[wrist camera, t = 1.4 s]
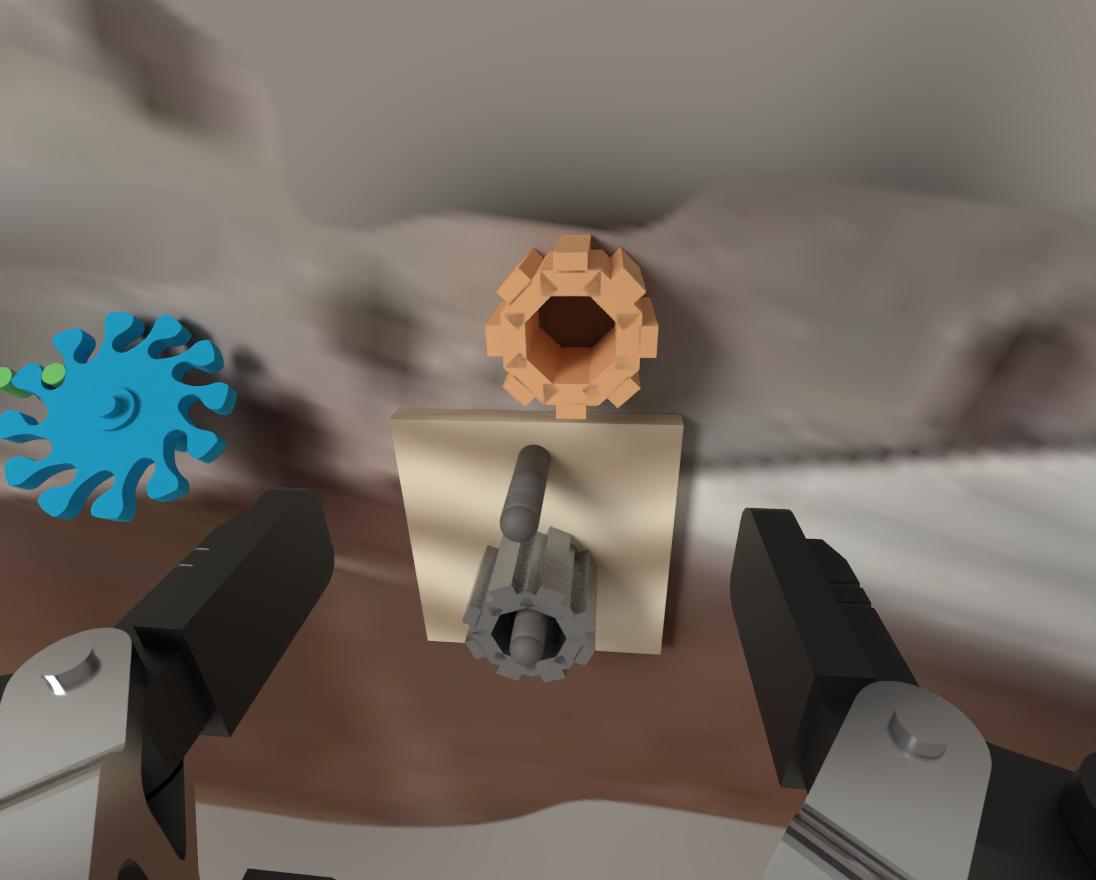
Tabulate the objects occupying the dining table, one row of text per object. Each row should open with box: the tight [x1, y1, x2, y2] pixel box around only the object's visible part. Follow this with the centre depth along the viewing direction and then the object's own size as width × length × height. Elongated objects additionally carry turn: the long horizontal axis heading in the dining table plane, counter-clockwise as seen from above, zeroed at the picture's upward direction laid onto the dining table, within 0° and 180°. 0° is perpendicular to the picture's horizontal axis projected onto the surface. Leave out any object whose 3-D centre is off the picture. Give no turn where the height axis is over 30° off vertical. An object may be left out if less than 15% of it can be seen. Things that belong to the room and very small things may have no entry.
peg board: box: [390, 409, 684, 666], centre depth 27 cm, size 15×14×7 cm
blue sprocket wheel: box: [0, 312, 237, 521], centre depth 27 cm, size 11×6×10 cm
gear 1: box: [485, 234, 658, 419], centre depth 23 cm, size 6×6×4 cm
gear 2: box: [462, 526, 597, 682], centre depth 28 cm, size 6×6×4 cm
